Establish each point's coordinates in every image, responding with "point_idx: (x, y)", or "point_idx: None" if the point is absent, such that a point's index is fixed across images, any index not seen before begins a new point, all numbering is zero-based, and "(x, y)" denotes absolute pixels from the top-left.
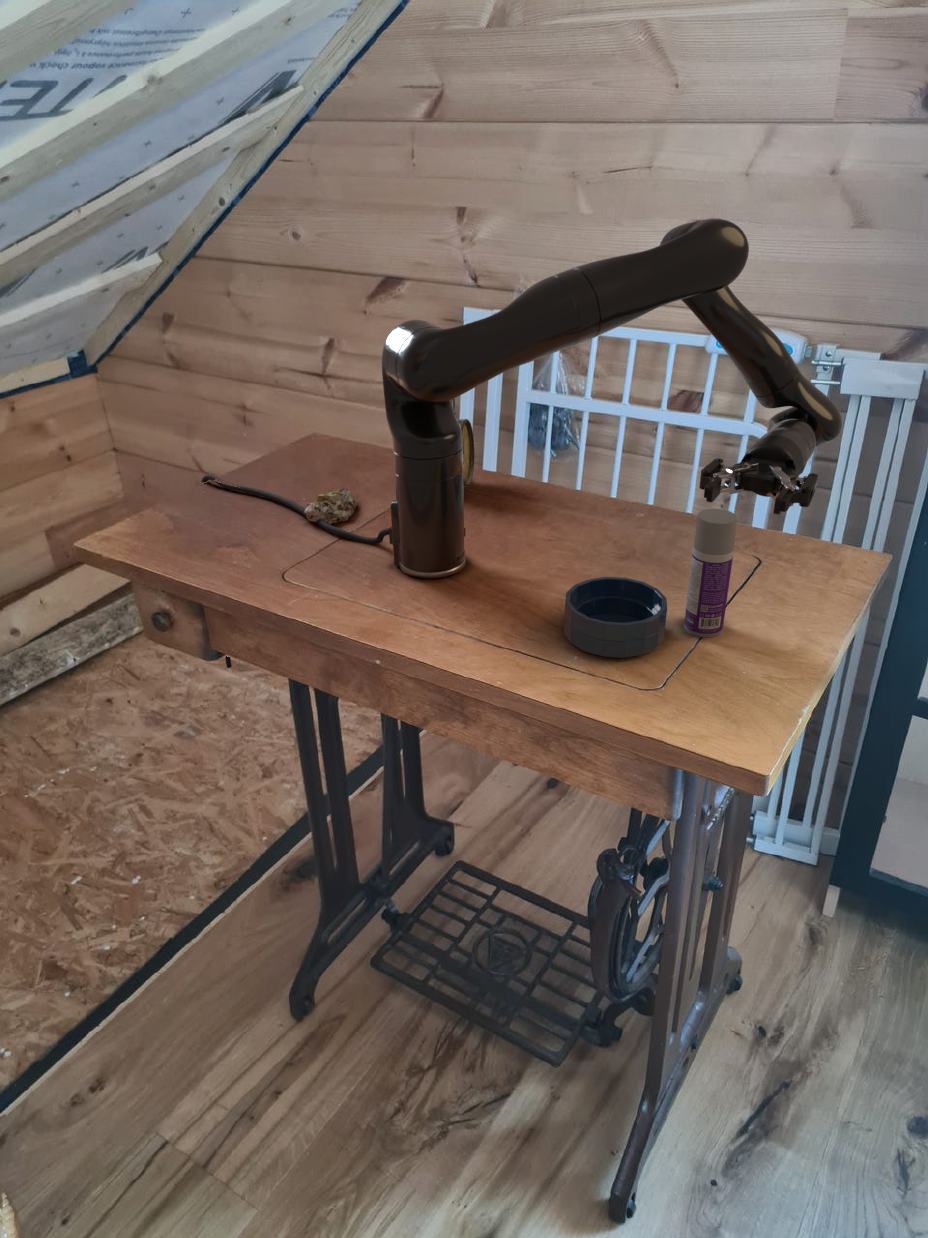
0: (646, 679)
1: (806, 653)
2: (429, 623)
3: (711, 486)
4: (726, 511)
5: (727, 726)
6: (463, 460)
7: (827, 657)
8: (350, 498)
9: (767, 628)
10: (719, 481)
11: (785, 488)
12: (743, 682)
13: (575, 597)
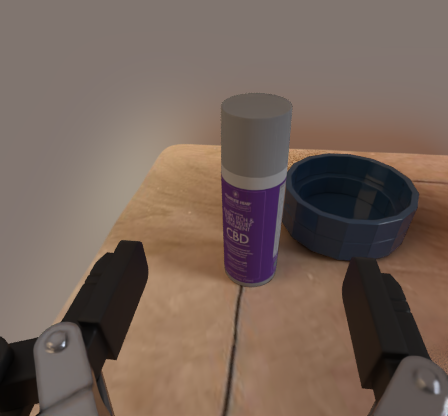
0: None
1: None
2: None
3: (364, 258)
4: (245, 114)
5: (195, 163)
6: None
7: (95, 259)
8: None
9: (166, 294)
10: (371, 321)
11: (85, 343)
12: (188, 201)
13: (404, 198)
